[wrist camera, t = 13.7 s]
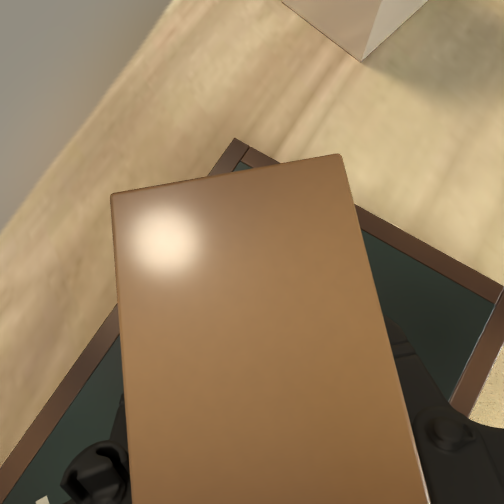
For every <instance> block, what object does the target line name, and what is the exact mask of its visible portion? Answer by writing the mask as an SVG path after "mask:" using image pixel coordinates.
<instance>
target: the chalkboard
mask: <svg viewBox="0 0 504 504" xmlns="http://www.w3.org/2000/svg"><path fill="white" fill-rule="evenodd" d="M275 164H281V163H279V162H277V161H276V160H274V159H272V158H270V157H268V156H267V155H265V154H263V153H261V152H259V151H257V150H256V149H254V148H252V147H250V146H249V145H247V144H245V143H243V142H241V141H239V140H238V139H236V138H234V139H233V141H232V142H231V143H230V145H229V146H228V148H227V149H226V150H225V152H224V153H223V155H222V156H221V157H220V159H219V160H218V162H217V163H216V165H215V166H214V167H213V169H212V170H211V172H210V173H209V174H208V176H213V175H218V174H224V173H230V172H235V171H241V170H247V169H252V168H258V167H264V166H269V165H275ZM354 206H355V209H356V213H357V217H358V221H359V225H360V229H361V233H362V237H363V241H364V244H365V248H366V252H367V256H368V260H369V264H370V268H371V272H372V276H373V279H374V283H375V287H376V291H377V295H378V299H379V303H380V307H381V311H382V314H383V315H386V316H387V317H388V318H390V319H391V320H392V321H394V322H395V323H396V324H398V325H399V326H400V328H401V329H402V331H403V332H404V334H405V335H406V337H407V339H408V341H409V343H411V345H412V346H413V348H414V349H415V351H416V354H418V356H419V357H420V359H421V360H422V362H423V364H424V365H425V367H426V368H427V370H428V371H429V373H430V375H431V376H432V378H433V379H434V381H435V382H436V384H437V385H438V387H439V389H440V390H441V392H442V393H443V395H444V396H445V398H446V399H447V401H448V402H449V403H450V404H451V406H452V407H453V408H454V409H456V410H457V411H458V412H460V413H462V414H464V415H465V416H466V417H467V418H469V416H470V414H471V412H472V410H473V408H474V406H475V404H476V402H477V399H478V397H479V395H480V393H481V391H482V389H483V387H484V385H485V383H486V380H487V378H488V376H489V374H490V372H491V370H492V368H493V366H494V364H495V362H496V359H497V357H498V355H499V353H500V351H501V349H502V347H503V345H504V286H502V285H500V284H499V283H497V282H495V281H493V280H491V279H490V278H488V277H486V276H484V275H482V274H480V273H479V272H477V271H475V270H473V269H471V268H470V267H468V266H466V265H464V264H462V263H461V262H459V261H457V260H455V259H453V258H451V257H450V256H448V255H446V254H444V253H442V252H441V251H439V250H437V249H435V248H433V247H431V246H430V245H428V244H426V243H424V242H422V241H421V240H419V239H417V238H415V237H413V236H412V235H410V234H408V233H406V232H404V231H402V230H401V229H399V228H397V227H395V226H393V225H392V224H390V223H388V222H386V221H384V220H383V219H381V218H379V217H377V216H375V215H373V214H372V213H370V212H368V211H366V210H364V209H363V208H361V207H359V206H357V205H355V204H354ZM123 388H124V384H123V370H122V356H121V342H120V328H119V314H118V303H117V304H116V306H115V307H114V309H113V310H112V311H111V313H110V314H109V316H108V317H107V318H106V320H105V321H104V323H103V324H102V325H101V327H100V328H99V330H98V331H97V333H96V334H95V335H94V337H93V338H92V340H91V341H90V342H89V344H88V345H87V347H86V348H85V349H84V351H83V352H82V354H81V355H80V357H79V358H78V359H77V361H76V362H75V364H74V365H73V366H72V368H71V369H70V371H69V372H68V373H67V375H66V376H65V378H64V379H63V381H62V382H61V383H60V385H59V386H58V388H57V389H56V390H55V392H54V393H53V395H52V396H51V397H50V399H49V400H48V402H47V403H46V405H45V406H44V407H43V409H42V410H41V412H40V413H39V414H38V416H37V417H36V419H35V420H34V421H33V423H32V424H31V426H30V427H29V429H28V430H27V431H26V433H25V434H24V436H23V437H22V438H21V440H20V441H19V443H18V444H17V445H16V447H15V448H14V450H13V451H12V453H11V454H10V455H9V457H8V458H7V460H6V461H5V462H4V464H3V465H2V467H1V468H0V504H63V503H65V502H67V501H69V500H70V499H72V498H71V497H70V496H69V495H68V494H67V493H66V492H65V491H64V490H63V489H62V488H61V487H60V483H61V480H62V477H63V474H64V472H65V470H66V469H67V467H68V466H69V464H70V463H71V461H72V460H73V459H74V458H75V457H76V456H77V455H78V454H79V453H80V452H81V451H82V450H84V449H85V448H86V447H88V446H90V445H92V444H94V443H96V442H99V441H105V440H109V438H110V434H111V431H112V427H113V424H114V420H115V416H116V413H117V409H118V408H119V402H120V398H121V395H122V394H123Z"/></svg>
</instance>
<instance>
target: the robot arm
mask: <svg viewBox="0 0 504 504" xmlns="http://www.w3.org/2000/svg"><path fill="white" fill-rule="evenodd" d="M383 318H384V322H385V326H386V330H387V334H388V338H389V342H390V346H391V349H392V353H393V357H394V361H395V365H396V369H397V373H398V377H399V381H400V384H401V388H402V392H403V396H404V400H405V404H406V408H407V412H408V416H409V420H410V423H411V427H412V431H413V435H414V439H415V443H416V447H417V451H418V455H419V458H420V462H421V466H422V470H423V474H424V478H425V482H426V486H427V490H428V493H429V497H430V501H431V504H504V429H502V428H495V427H490V426H486V425H481V424H479V423H477V422H474V421H472V420H470V419H468V418H467V417H466V416H465V415H464V414H462V413H460V412H458V411H457V410H456V409H454V408H453V407H452V406H451V404H450V403H449V402H448V401H447V399H446V398H445V396H444V395H443V393H442V392H441V390H440V389H439V387H438V385H437V384H436V382H435V381H434V379H433V378H432V376H431V375H430V373H429V371H428V370H427V368H426V367H425V365H424V364H423V362H422V360H421V359H420V357H419V356H418V354H416V351H415V349H414V348H413V346H412V345H411V343H409V341H408V339H407V337H406V335H405V334H404V332H403V331H402V329H401V328H400V326H399V325H398V324H396V323H395V322H394V321H392V320H391V319H390V318H388V317H387V316H386V315H383ZM60 487H61V488H62V489H63V490H64V491H65V492H66V493H67V494H68V495H69V496H70V497H71V498H72V499H70V500H69V501H67V502H65V503H63V504H132V495H131V481H130V467H129V453H128V439H127V425H126V411H125V398H124V388H123V394H122V395H121V398H120V402H119V408H118V409H117V413H116V416H115V420H114V424H113V427H112V431H111V434H110V438H109V440H105V441H99V442H96V443H94V444H92V445H90V446H88V447H86V448H85V449H84V450H82V451H81V452H80V453H79V454H78V455H77V456H76V457H75V458H74V459H73V460H72V461H71V463H70V464H69V466H68V467H67V469H66V470H65V472H64V474H63V477H62V480H61V483H60Z"/></svg>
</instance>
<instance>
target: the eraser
mask: <svg viewBox="0 0 504 504" xmlns="http://www.w3.org/2000/svg"><path fill="white" fill-rule="evenodd" d="M110 204H111V217H112V231H113V245H114V259H115V273H116V287H117V301H118V314H119V328H120V342H121V356H122V370H123V384H124V398H125V411H126V425H127V439H128V453H129V467H130V481H131V495H132V504H431V501H430V497H429V493H428V490H427V486H426V482H425V478H424V474H423V470H422V466H421V462H420V458H419V455H418V451H417V447H416V443H415V439H414V435H413V431H412V427H411V423H410V420H409V416H408V412H407V408H406V404H405V400H404V396H403V392H402V388H401V384H400V381H399V377H398V373H397V369H396V365H395V361H394V357H393V353H392V349H391V346H390V342H389V338H388V334H387V330H386V326H385V322H384V318H383V314H382V311H381V307H380V303H379V299H378V295H377V291H376V287H375V283H374V279H373V276H372V272H371V268H370V264H369V260H368V256H367V252H366V248H365V244H364V241H363V237H362V233H361V229H360V225H359V221H358V217H357V213H356V209H355V206H354V202H353V198H352V194H351V190H350V186H349V182H348V178H347V174H346V171H345V167H344V163H343V159H342V156H341V155H340V154H331V155H326V156H320V157H314V158H309V159H303V160H297V161H292V162H286V163H281V164H275V165H269V166H264V167H258V168H252V169H247V170H241V171H235V172H230V173H224V174H218V175H213V176H207V177H202V178H196V179H190V180H185V181H179V182H173V183H168V184H162V185H156V186H151V187H145V188H139V189H134V190H128V191H123V192H117V193H113V194H111V196H110Z"/></svg>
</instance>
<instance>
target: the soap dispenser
mask: <svg viewBox="0 0 504 504" xmlns="http://www.w3.org/2000/svg"><path fill="white" fill-rule="evenodd" d="M427 1H428V0H282V2H283V3H284V4H285V5H287V6H288V7H289V8H291V9H292V10H293V11H295V12H296V13H297V14H298V15H300V16H301V17H302V18H304V19H305V20H306V21H308V22H309V23H310V24H312V25H313V26H314V27H315V28H317V29H318V30H319V31H321V32H322V33H323V34H325V35H326V36H327V37H328V38H330V39H331V40H332V41H334V42H335V43H336V44H338V45H339V46H340V47H342V48H343V49H344V50H345V51H347V52H348V53H349V54H351V55H352V56H353V57H355V58H356V59H357V60H358V61H360V62H361V61H362V60H364V59H365V58H366V57H367V56H368V55H369V54H370V53H371V52H372V51H373V50H374V49H376V48H377V47H378V46H379V45H380V44H381V43H382V42H383V41H384V40H385V39H387V38H388V37H389V36H390V35H391V34H392V33H393V32H394V31H395V30H396V29H397V28H399V27H400V26H401V25H402V24H403V23H404V22H405V21H406V20H407V19H408V18H410V17H411V16H412V15H413V14H414V13H415V12H416V11H417V10H418V9H419V8H420V7H422V6H423V5H424V4H425V3H426V2H427Z"/></svg>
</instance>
